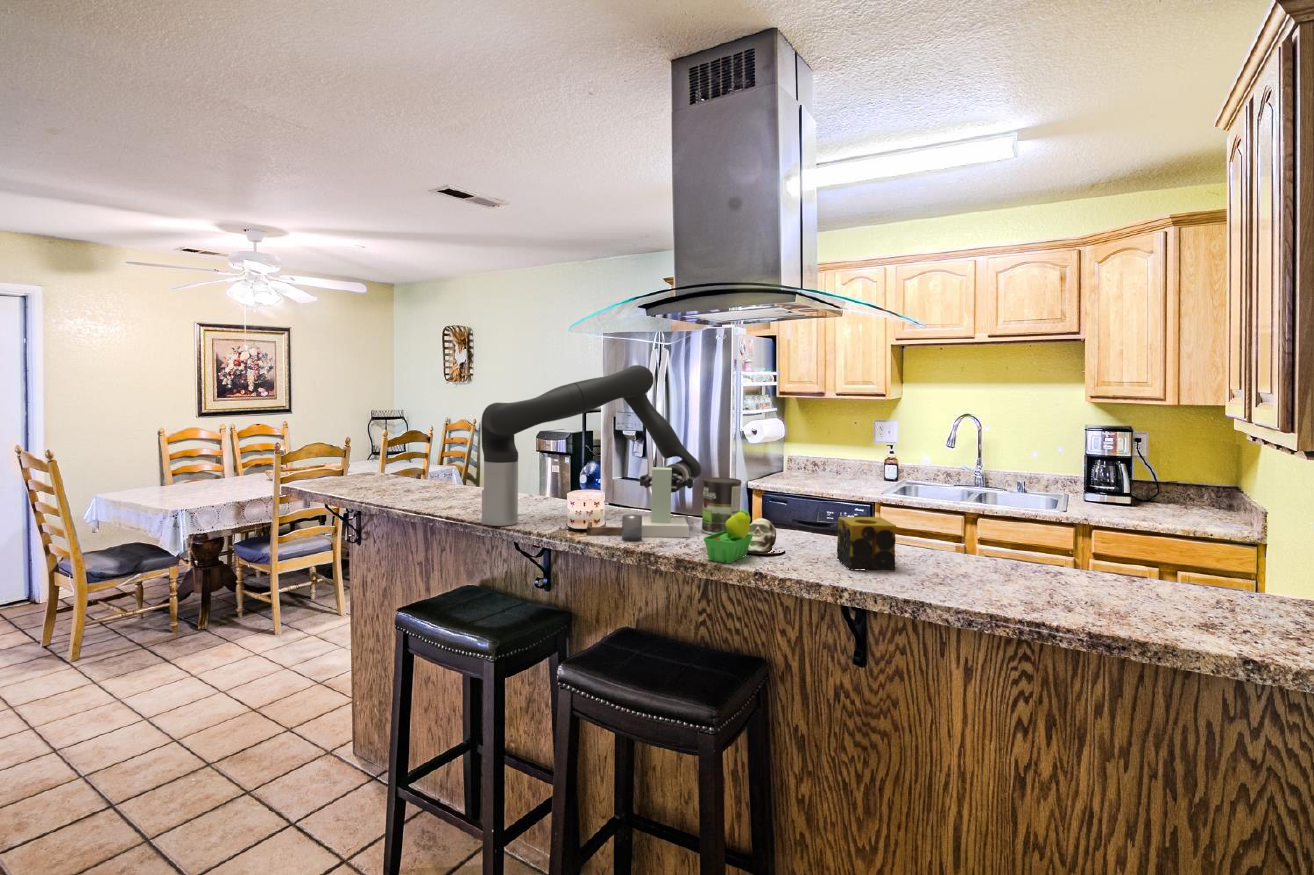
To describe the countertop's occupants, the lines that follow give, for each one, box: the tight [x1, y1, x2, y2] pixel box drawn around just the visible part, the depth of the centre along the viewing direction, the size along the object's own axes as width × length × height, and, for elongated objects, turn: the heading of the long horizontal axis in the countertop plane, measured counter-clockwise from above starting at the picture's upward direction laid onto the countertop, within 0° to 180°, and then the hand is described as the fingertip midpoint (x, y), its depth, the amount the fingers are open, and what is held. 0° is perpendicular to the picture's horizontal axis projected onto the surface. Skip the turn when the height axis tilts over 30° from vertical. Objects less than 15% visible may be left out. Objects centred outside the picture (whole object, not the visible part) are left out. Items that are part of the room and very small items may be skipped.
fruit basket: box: [703, 509, 753, 564], centre depth 154 cm, size 11×9×11 cm
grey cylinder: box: [621, 513, 643, 543], centre depth 172 cm, size 5×5×6 cm
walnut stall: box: [586, 521, 622, 537], centre depth 182 cm, size 11×10×2 cm
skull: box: [747, 517, 780, 555], centre depth 163 cm, size 12×10×10 cm
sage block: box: [650, 466, 672, 523], centre depth 181 cm, size 5×5×14 cm
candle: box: [836, 516, 897, 571], centre depth 151 cm, size 10×10×10 cm
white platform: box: [642, 516, 690, 538], centre depth 182 cm, size 13×12×3 cm
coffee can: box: [701, 477, 742, 535], centre depth 184 cm, size 10×10×14 cm
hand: (661, 484), depth 180 cm, fingers open, 8 cm apart
